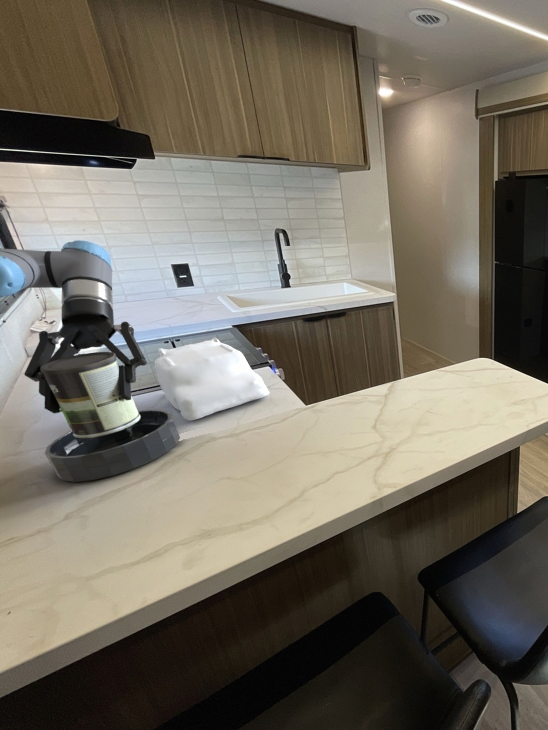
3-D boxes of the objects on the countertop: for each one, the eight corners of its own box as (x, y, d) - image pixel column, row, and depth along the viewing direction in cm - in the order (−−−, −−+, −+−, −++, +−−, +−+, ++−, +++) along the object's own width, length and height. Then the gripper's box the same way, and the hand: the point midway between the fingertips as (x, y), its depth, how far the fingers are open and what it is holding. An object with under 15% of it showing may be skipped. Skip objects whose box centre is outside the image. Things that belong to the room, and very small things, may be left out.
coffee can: (70, 444, 74) (34, 374, 69) (76, 425, 82) (44, 360, 77) (141, 426, 80) (113, 360, 75) (141, 409, 88) (116, 348, 83)
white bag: (236, 373, 126) (223, 332, 121) (273, 398, 107) (259, 350, 102) (161, 394, 113) (143, 349, 108) (187, 426, 94) (167, 373, 89)
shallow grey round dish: (28, 487, 74) (13, 462, 72) (111, 434, 92) (101, 413, 90) (138, 477, 76) (126, 452, 74) (199, 427, 93) (191, 406, 91)
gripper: (162, 310, 91) (170, 398, 84) (26, 325, 82) (22, 425, 75) (147, 290, 85) (154, 383, 78) (-2, 304, 76) (-10, 410, 68)
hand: (89, 403), depth 76 cm, fingers closed on coffee can, 10 cm apart
